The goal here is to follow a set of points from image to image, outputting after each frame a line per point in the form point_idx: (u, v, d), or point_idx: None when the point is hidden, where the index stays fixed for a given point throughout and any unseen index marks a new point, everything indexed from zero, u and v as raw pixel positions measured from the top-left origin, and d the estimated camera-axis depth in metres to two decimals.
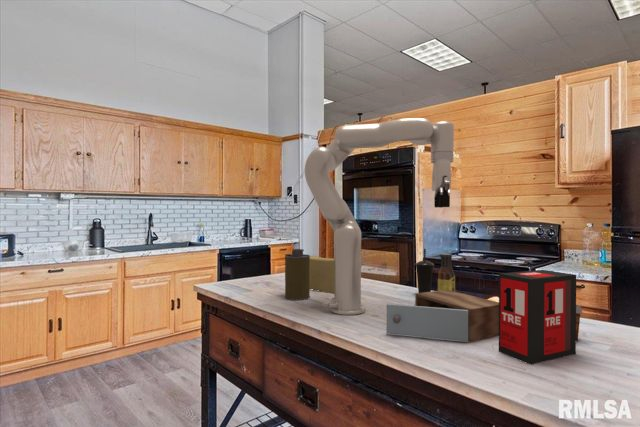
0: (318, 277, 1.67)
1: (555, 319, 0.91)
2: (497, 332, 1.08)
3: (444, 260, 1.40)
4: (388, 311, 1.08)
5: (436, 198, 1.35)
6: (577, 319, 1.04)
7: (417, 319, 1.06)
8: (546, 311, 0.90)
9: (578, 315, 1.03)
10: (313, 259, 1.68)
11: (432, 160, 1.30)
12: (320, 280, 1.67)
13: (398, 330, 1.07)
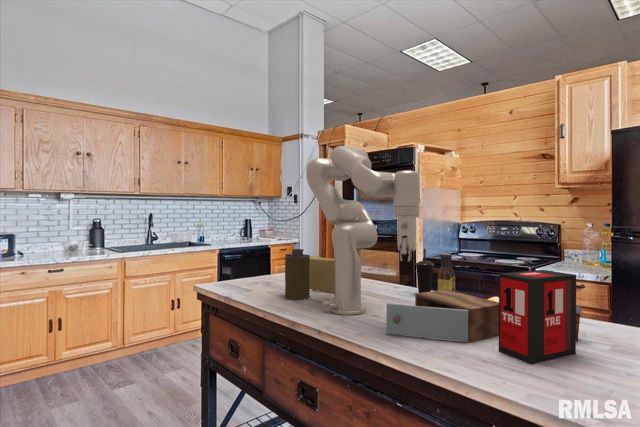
0: (319, 277, 1.67)
1: (555, 319, 0.91)
2: (497, 332, 1.08)
3: (444, 260, 1.40)
4: (388, 311, 1.08)
5: None
6: (577, 319, 1.04)
7: (417, 319, 1.06)
8: (546, 311, 0.90)
9: (578, 315, 1.03)
10: (314, 259, 1.68)
11: None
12: (320, 280, 1.66)
13: (398, 330, 1.07)
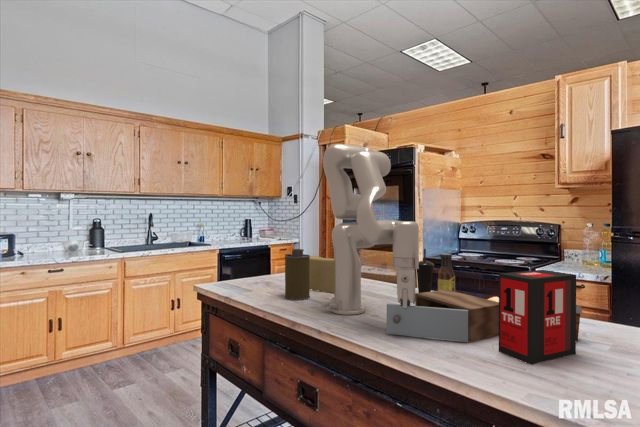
0: (320, 277, 1.66)
1: (555, 319, 0.91)
2: (497, 332, 1.08)
3: (444, 260, 1.40)
4: (388, 311, 1.08)
5: None
6: (577, 319, 1.04)
7: (417, 319, 1.06)
8: (546, 311, 0.90)
9: (578, 315, 1.03)
10: (314, 259, 1.68)
11: None
12: (321, 280, 1.66)
13: (398, 330, 1.07)
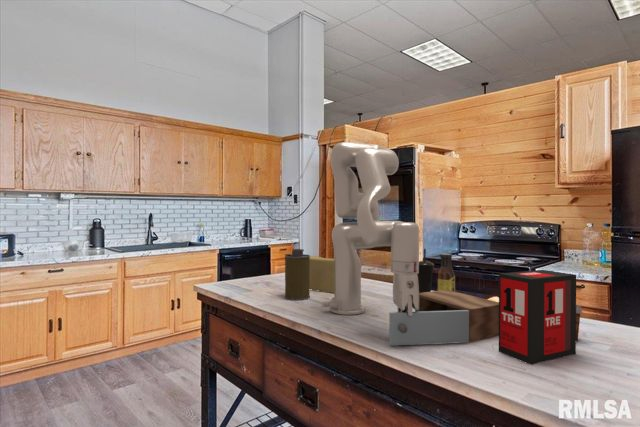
0: (320, 277, 1.66)
1: (555, 319, 0.91)
2: (497, 332, 1.08)
3: (444, 260, 1.40)
4: (392, 320, 0.99)
5: None
6: (577, 319, 1.04)
7: (421, 326, 1.00)
8: (546, 311, 0.90)
9: (578, 315, 1.03)
10: (314, 259, 1.68)
11: None
12: (321, 280, 1.66)
13: (402, 340, 0.99)
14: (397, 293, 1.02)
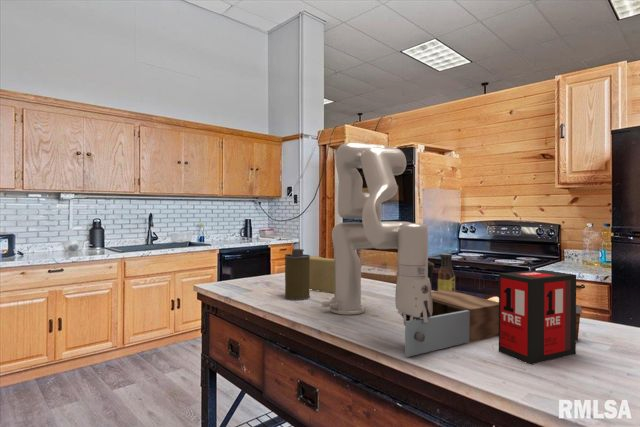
0: (320, 277, 1.66)
1: (555, 319, 0.91)
2: (497, 332, 1.08)
3: (444, 260, 1.40)
4: (409, 330, 0.91)
5: None
6: (577, 319, 1.04)
7: (433, 331, 0.95)
8: (546, 311, 0.90)
9: (578, 315, 1.03)
10: (315, 259, 1.68)
11: None
12: (322, 281, 1.66)
13: (418, 349, 0.93)
14: (407, 299, 0.95)
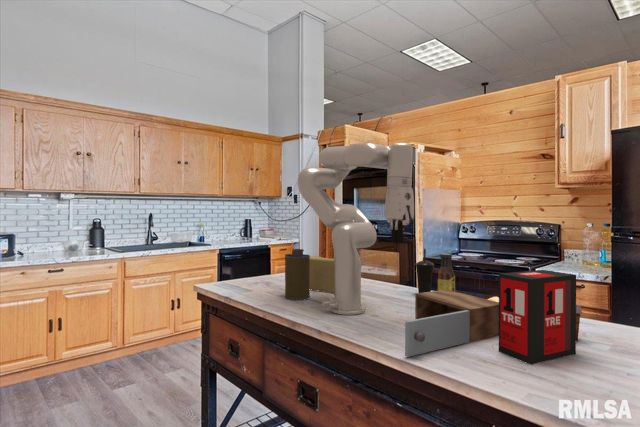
0: (321, 278, 1.66)
1: (555, 319, 0.91)
2: (497, 332, 1.08)
3: (444, 260, 1.40)
4: (409, 330, 0.91)
5: None
6: (577, 319, 1.04)
7: (433, 331, 0.95)
8: (546, 311, 0.90)
9: (578, 315, 1.03)
10: (316, 259, 1.67)
11: None
12: (323, 281, 1.66)
13: (418, 349, 0.93)
14: (393, 206, 1.15)
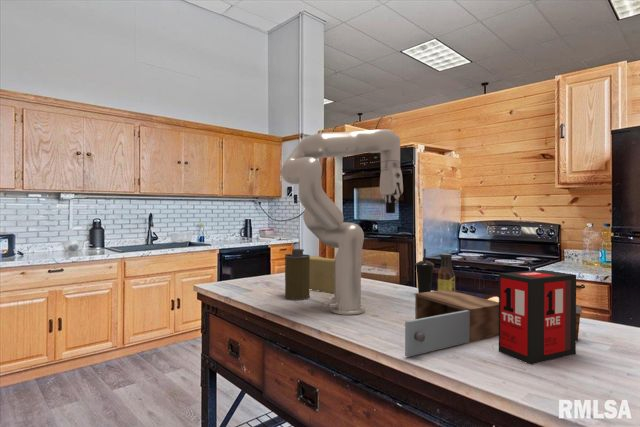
0: (322, 278, 1.66)
1: (555, 319, 0.91)
2: (497, 332, 1.08)
3: (444, 260, 1.40)
4: (409, 330, 0.91)
5: None
6: (577, 319, 1.04)
7: (433, 331, 0.95)
8: (546, 311, 0.90)
9: (578, 315, 1.03)
10: (316, 259, 1.67)
11: None
12: (323, 281, 1.66)
13: (418, 349, 0.93)
14: (386, 184, 1.46)
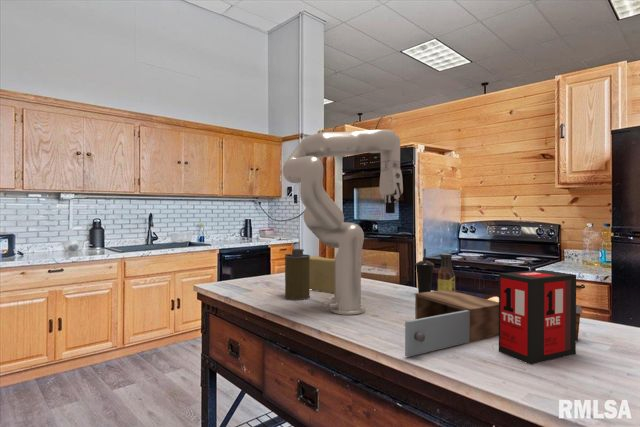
0: (322, 278, 1.66)
1: (555, 319, 0.91)
2: (497, 332, 1.08)
3: (444, 260, 1.40)
4: (409, 330, 0.91)
5: None
6: (577, 319, 1.04)
7: (433, 331, 0.95)
8: (546, 311, 0.90)
9: (578, 315, 1.03)
10: (317, 259, 1.67)
11: None
12: (323, 281, 1.65)
13: (418, 349, 0.93)
14: (386, 184, 1.46)
